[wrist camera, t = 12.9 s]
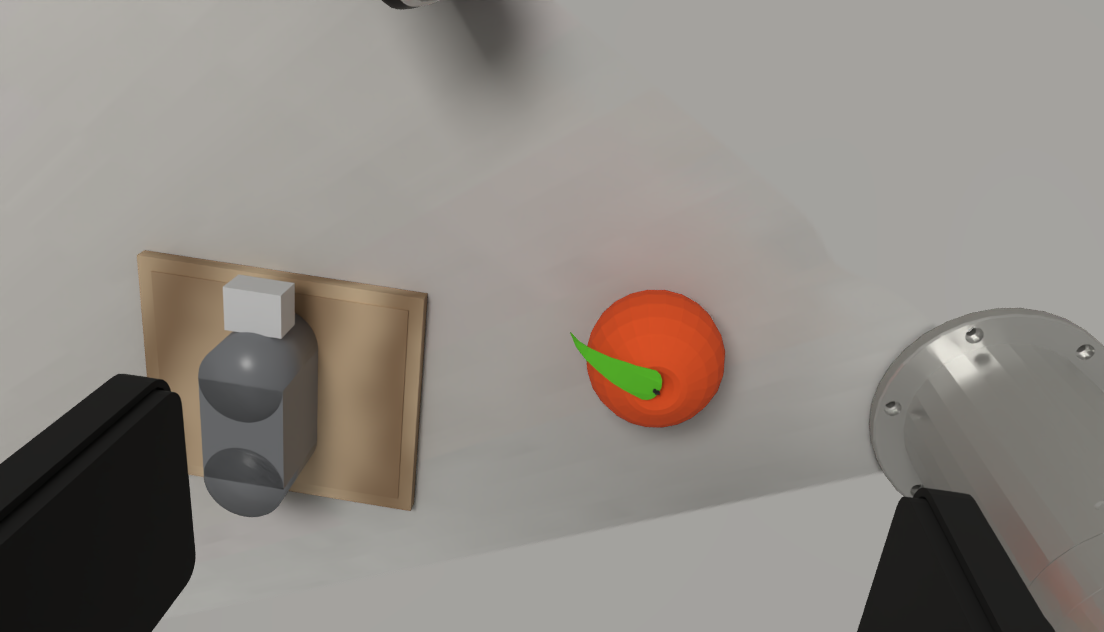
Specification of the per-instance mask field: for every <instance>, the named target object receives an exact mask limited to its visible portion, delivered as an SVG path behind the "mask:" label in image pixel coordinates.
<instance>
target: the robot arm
mask: <svg viewBox="0 0 1104 632" xmlns="http://www.w3.org/2000/svg"><path fill="white" fill-rule="evenodd" d="M972 328H973V329H972ZM970 329H972V330H971V331H970V332H967V331H968V330H970ZM889 402H891V403H890V404H887V403H889ZM869 425H870V437H871V443H872V446H873V449H874V452H875V455H876V458H877V460H878V462H879V464H880V466H881V468H882V470H883V472H884V474H885V476H886V477H887V478H888V480H889V481H890V482H891V483H892V485H893V486H894V487H895V488H896V490H897V491H899V492H900V493H901V494H902V495H903V496H904V497H902V498H901V499H900V501H899V503H898V505H897V507H896V510H895V514H894V517H893V520H892V523H891V526H890V529H889V533H888V536H887V539H886V542H885V546H884V548H883V552H882V555H881V558H880V561H879V564H878V567H877V571H876V574H875V577H874V580H873V583H872V586H871V590H870V593H869V596H868V599H867V602H866V605H865V608H864V612H863V615H862V618H861V621H860V624H859V628H858V631H857V632H1104V346H1103V345H1102V344H1101V343H1100V342H1099V341H1098V340H1096V339H1095V338H1094V337H1093V336H1092V335H1091V334H1089V333H1088V332H1087V331H1086V330H1084V329H1082V328H1081V327H1079V326H1078V325H1076V324H1074V323H1072V322H1071V321H1069V320H1067V319H1065V318H1062V317H1059V316H1056V315H1053V314H1050V313H1047V312H1044V311H1037V310H1031V309H1024V308H1000V309H999V308H998V309H991V310H985V311H980V312H975V313H970V314H967V315H964V316H962V317H959V318H956V319H953V320H950V321H948V322H945V323H944V324H942V325H940V326H938V327H936V328H934V329H933V330H931V331H929V332H927V333H925V334H924V335H923V336H921V337H920V338H919V339H918V340H916V341H915V342H914V343H912V344H911V345H910V346H909V347H907V348H906V349H905V350H904V351H903V352H902V353H901V355H900V356H899V357H898V358H897V359H896V360H895V361H894V362H893V363H892V364H891V366H890V367H889V369H888V370H887V372H886V374H885V375H884V377H883V379H882V380H881V382H880V383H879V386H878V388H877V391H876V394H875V396H874V399H873V402H872V407H871V414H870V421H869ZM194 565H195V543H194V532H193V521H192V509H191V498H190V487H189V476H188V465H187V454H186V443H185V431H184V420H183V409H182V402H181V398H180V396H179V394H177V393H176V392H171V389H170V387H169V385H168V383H167V382H166V381H164V380H163V379H156V378H149V377H142V376H135V375H128V374H117V375H116V376H114V377H112V378H111V379H109V380H108V381H107V382H106V383H104V384H103V385H102V386H100V387H99V388H98V389H96V390H95V391H94V392H93V393H91V394H90V395H89V396H87V397H86V398H85V399H84V400H82V401H81V402H80V403H78V404H77V405H76V406H75V407H73V408H72V409H71V410H69V411H68V412H67V413H66V414H64V415H63V416H62V417H60V418H59V419H58V420H56V421H55V422H54V423H53V424H51V425H50V426H49V427H47V428H46V429H45V430H44V431H42V432H41V433H40V434H38V435H37V436H36V437H35V438H33V439H32V440H31V441H29V442H28V443H27V444H26V445H24V446H23V447H22V448H20V449H19V450H18V451H17V452H15V453H14V454H13V455H11V456H10V457H9V458H7V459H6V460H5V461H4V462H2V463H1V464H0V632H152V630H153V629H154V628H155V626H156V625H157V624H158V622H159V621H160V620H161V618H162V617H163V616H164V614H165V613H166V612H167V610H168V609H169V608H170V606H171V605H172V604H173V602H174V601H175V600H176V598H177V597H178V596H179V594H180V593H181V591H182V590H183V589H184V587H185V586H186V585H187V583H188V581H189V580H190V577H191V575H192V572H193V569H194Z"/></svg>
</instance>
